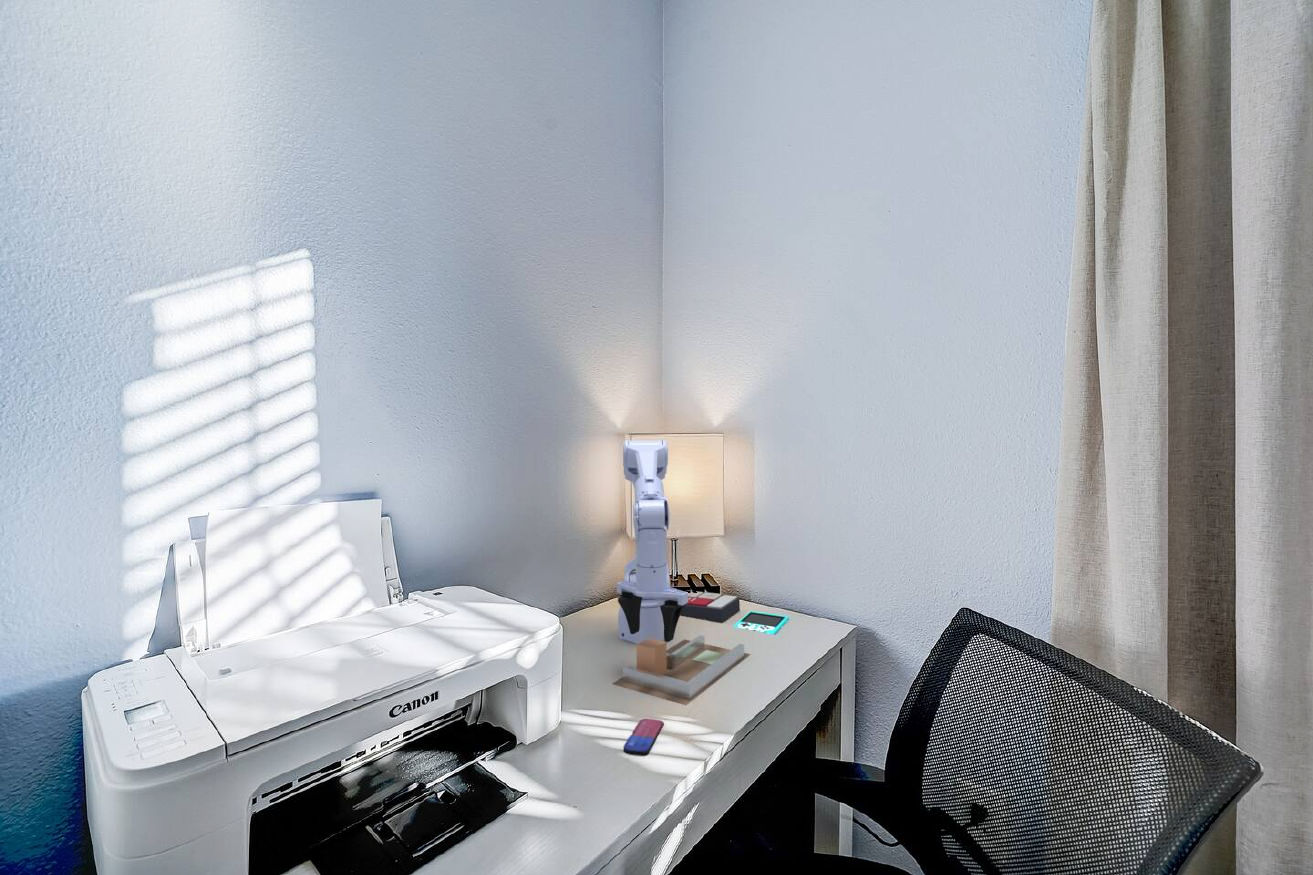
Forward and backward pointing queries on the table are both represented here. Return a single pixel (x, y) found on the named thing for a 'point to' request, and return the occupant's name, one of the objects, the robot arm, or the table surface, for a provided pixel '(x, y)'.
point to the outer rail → (679, 686)
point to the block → (652, 656)
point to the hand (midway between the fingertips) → (651, 636)
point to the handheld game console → (762, 622)
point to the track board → (685, 671)
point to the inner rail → (684, 652)
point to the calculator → (711, 606)
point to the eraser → (643, 737)
